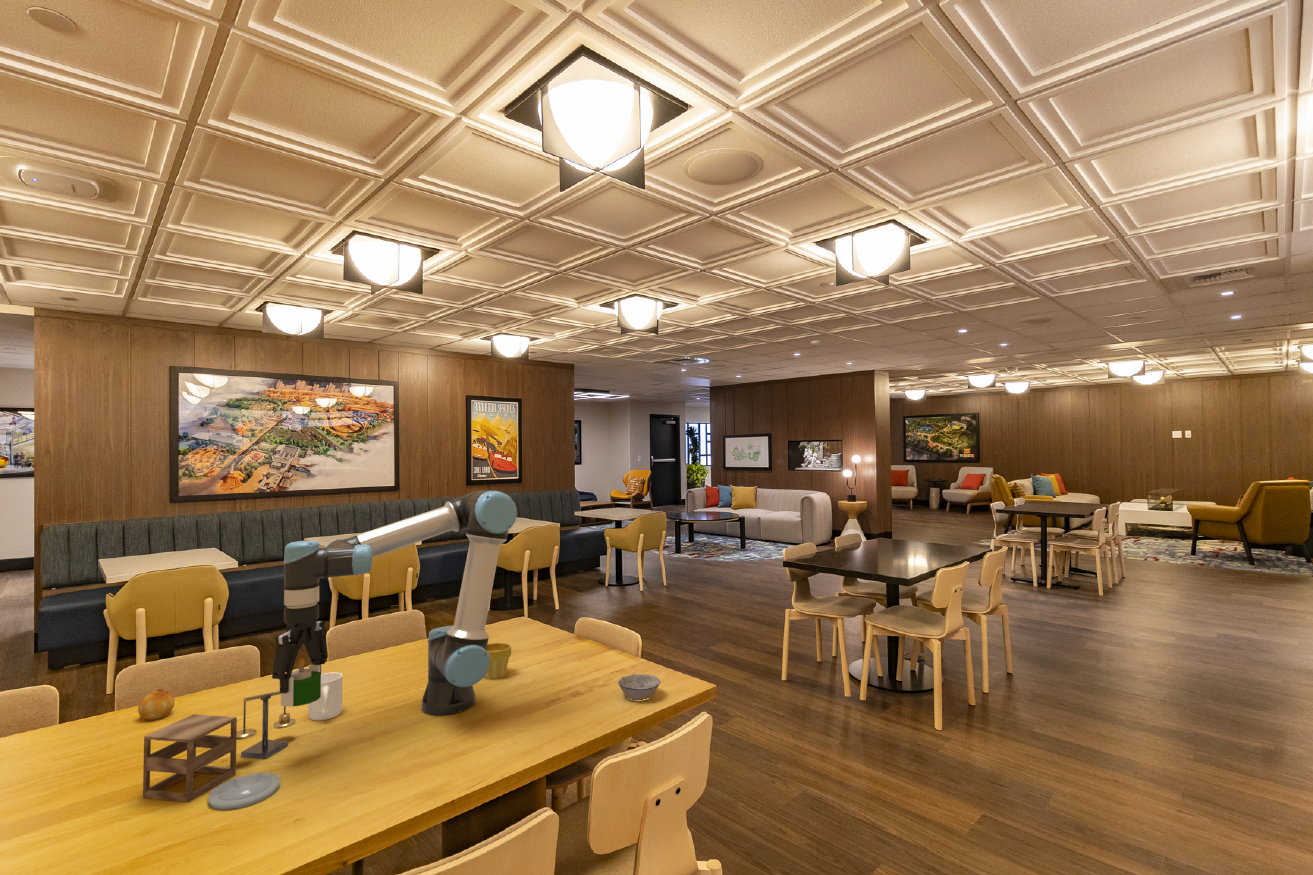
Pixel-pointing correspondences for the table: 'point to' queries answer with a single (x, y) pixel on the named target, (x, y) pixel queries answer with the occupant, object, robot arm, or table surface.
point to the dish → (243, 791)
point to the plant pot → (498, 659)
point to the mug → (327, 698)
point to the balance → (264, 731)
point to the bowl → (639, 686)
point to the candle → (305, 685)
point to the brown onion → (156, 705)
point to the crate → (189, 755)
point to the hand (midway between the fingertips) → (301, 698)
